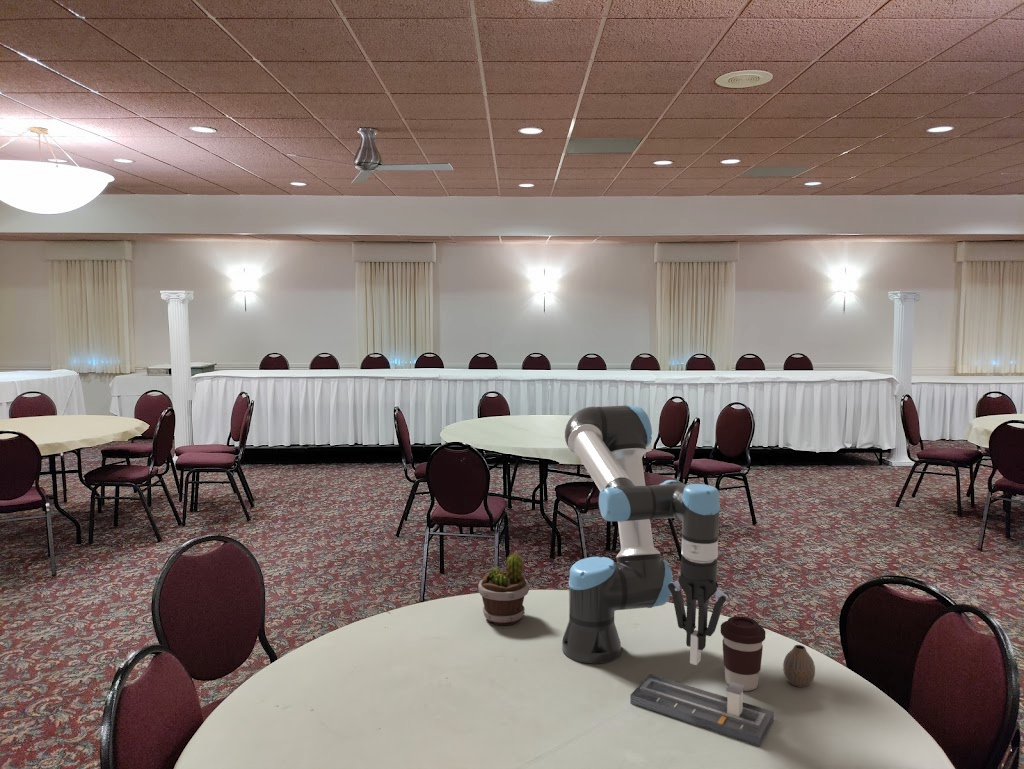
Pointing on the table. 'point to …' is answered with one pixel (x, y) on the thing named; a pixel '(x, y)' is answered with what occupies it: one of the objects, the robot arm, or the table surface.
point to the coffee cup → (742, 651)
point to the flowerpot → (504, 592)
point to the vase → (799, 667)
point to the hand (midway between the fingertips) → (695, 661)
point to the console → (702, 709)
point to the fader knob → (735, 699)
